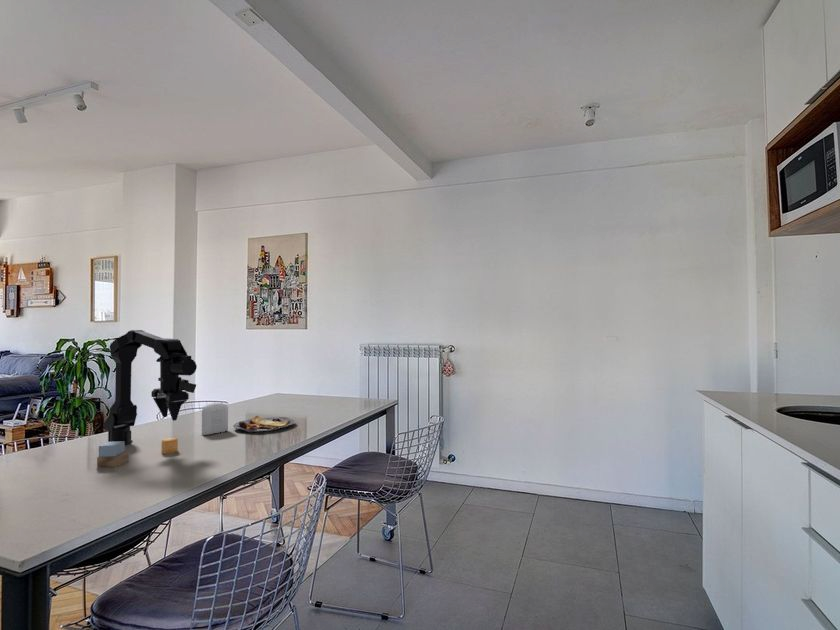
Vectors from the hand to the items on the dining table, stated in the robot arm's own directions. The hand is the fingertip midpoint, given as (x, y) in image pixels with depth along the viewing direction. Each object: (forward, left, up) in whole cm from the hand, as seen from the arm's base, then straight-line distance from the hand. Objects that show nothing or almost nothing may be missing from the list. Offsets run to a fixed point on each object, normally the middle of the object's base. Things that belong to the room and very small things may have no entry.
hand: (169, 418), depth 155 cm
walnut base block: (-12, -12, -12) cm, 21 cm away
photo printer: (+5, +27, -12) cm, 30 cm away
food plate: (+23, +35, -12) cm, 44 cm away
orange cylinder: (0, 0, -12) cm, 12 cm away
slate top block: (-12, -12, -9) cm, 19 cm away
